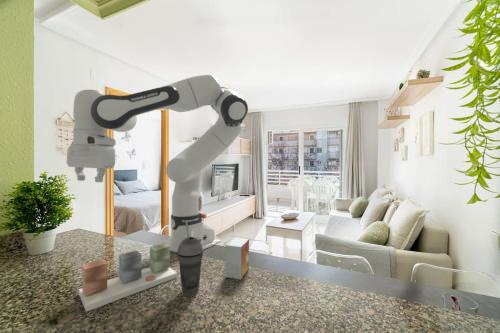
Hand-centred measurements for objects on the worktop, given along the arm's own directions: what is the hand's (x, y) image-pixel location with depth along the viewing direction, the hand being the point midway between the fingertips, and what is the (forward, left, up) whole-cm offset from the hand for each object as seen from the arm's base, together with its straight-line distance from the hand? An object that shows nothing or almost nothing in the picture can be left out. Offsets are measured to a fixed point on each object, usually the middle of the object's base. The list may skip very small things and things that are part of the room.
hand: (89, 181), depth 77 cm
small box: (-35, +36, -30) cm, 58 cm away
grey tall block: (-7, +19, -28) cm, 34 cm away
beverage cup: (-18, +35, -30) cm, 49 cm away
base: (-7, +20, -30) cm, 37 cm away
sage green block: (-16, +19, -28) cm, 37 cm away
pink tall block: (+2, +19, -28) cm, 34 cm away
